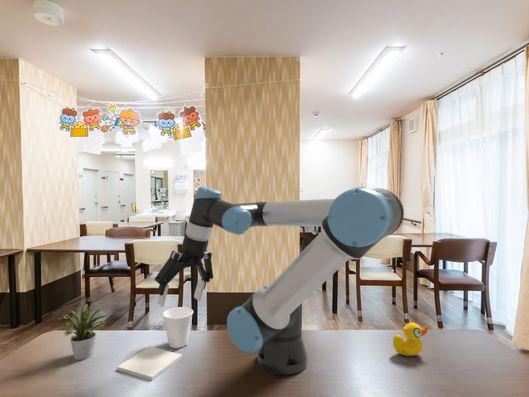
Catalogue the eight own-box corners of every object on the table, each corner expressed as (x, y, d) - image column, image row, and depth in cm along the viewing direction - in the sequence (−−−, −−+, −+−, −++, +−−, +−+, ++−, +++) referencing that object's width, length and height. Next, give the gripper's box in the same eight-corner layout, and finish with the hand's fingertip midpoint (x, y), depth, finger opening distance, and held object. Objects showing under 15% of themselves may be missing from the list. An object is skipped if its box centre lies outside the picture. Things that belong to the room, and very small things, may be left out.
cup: (185, 353, 103) (185, 319, 102) (157, 350, 105) (157, 316, 104) (198, 339, 112) (197, 308, 112) (171, 336, 114) (171, 306, 114)
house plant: (78, 374, 91) (77, 317, 90) (43, 365, 95) (42, 311, 95) (116, 350, 104) (116, 301, 104) (84, 344, 109) (83, 296, 108)
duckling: (421, 349, 106) (421, 319, 106) (432, 357, 101) (432, 326, 100) (389, 351, 104) (389, 321, 104) (398, 360, 99) (399, 328, 99)
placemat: (182, 357, 100) (182, 354, 100) (152, 380, 88) (152, 377, 88) (149, 349, 105) (149, 346, 105) (117, 370, 93) (117, 366, 93)
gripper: (219, 234, 110) (203, 291, 112) (154, 231, 91) (136, 300, 93) (234, 241, 105) (217, 301, 107) (168, 240, 86) (148, 313, 88)
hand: (179, 301), depth 100 cm, fingers open, 13 cm apart
